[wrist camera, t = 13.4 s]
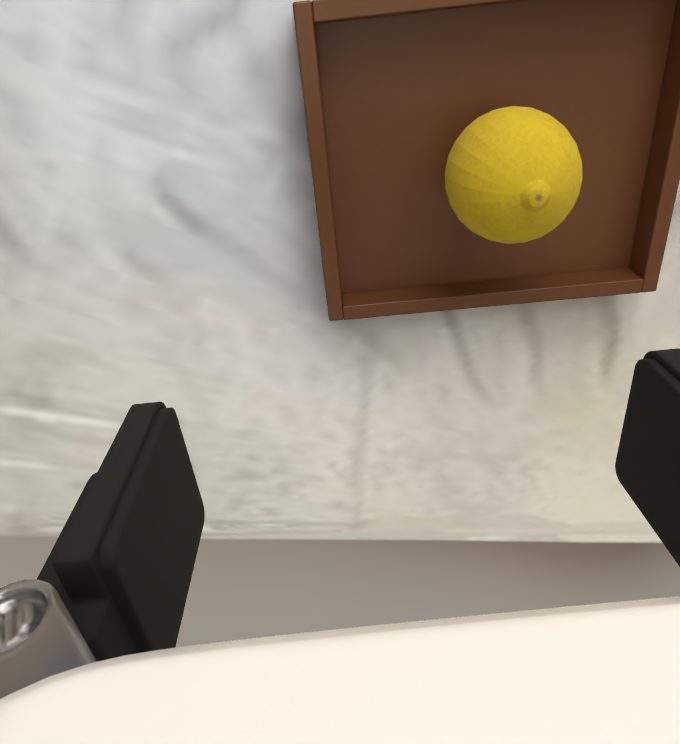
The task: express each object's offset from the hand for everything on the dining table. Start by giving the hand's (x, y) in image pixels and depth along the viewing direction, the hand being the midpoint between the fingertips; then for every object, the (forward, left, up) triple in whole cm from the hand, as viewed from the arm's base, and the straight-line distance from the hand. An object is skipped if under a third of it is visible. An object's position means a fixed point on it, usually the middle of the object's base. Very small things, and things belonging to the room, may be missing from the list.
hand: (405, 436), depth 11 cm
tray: (+7, +1, -21) cm, 22 cm away
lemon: (+6, +1, -20) cm, 21 cm away
